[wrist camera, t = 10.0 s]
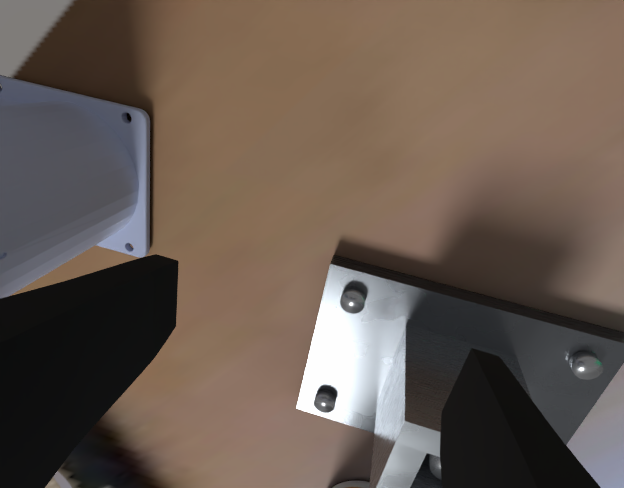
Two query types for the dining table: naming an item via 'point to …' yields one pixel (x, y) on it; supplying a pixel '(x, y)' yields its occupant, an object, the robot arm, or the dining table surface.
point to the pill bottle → (353, 484)
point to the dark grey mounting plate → (455, 324)
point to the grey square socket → (419, 406)
